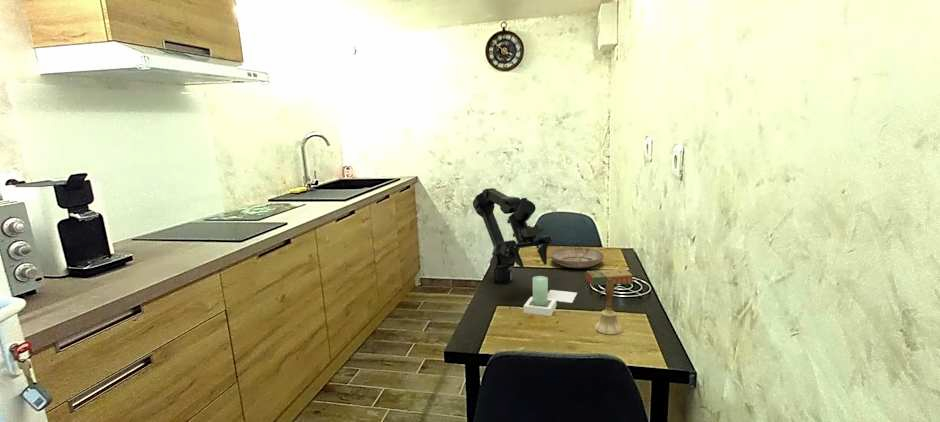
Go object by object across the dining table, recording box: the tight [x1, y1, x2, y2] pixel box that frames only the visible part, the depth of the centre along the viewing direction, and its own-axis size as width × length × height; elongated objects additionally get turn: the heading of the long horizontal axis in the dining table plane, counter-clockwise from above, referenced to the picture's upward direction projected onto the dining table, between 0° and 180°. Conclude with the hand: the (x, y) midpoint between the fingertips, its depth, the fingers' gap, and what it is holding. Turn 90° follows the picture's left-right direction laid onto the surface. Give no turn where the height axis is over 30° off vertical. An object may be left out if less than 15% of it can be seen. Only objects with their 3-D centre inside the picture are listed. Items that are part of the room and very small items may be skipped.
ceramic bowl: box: [550, 247, 605, 269], centre depth 209 cm, size 23×24×5 cm
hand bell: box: [594, 279, 623, 336], centre depth 142 cm, size 8×8×16 cm
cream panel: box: [548, 289, 578, 304], centre depth 170 cm, size 10×10×1 cm
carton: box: [585, 268, 634, 287], centre depth 185 cm, size 8×16×4 cm, turn 95°
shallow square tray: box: [523, 296, 557, 317], centre depth 159 cm, size 9×9×3 cm
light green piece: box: [532, 275, 549, 307], centre depth 158 cm, size 5×5×11 cm
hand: (534, 266), depth 165 cm, fingers open, 9 cm apart
